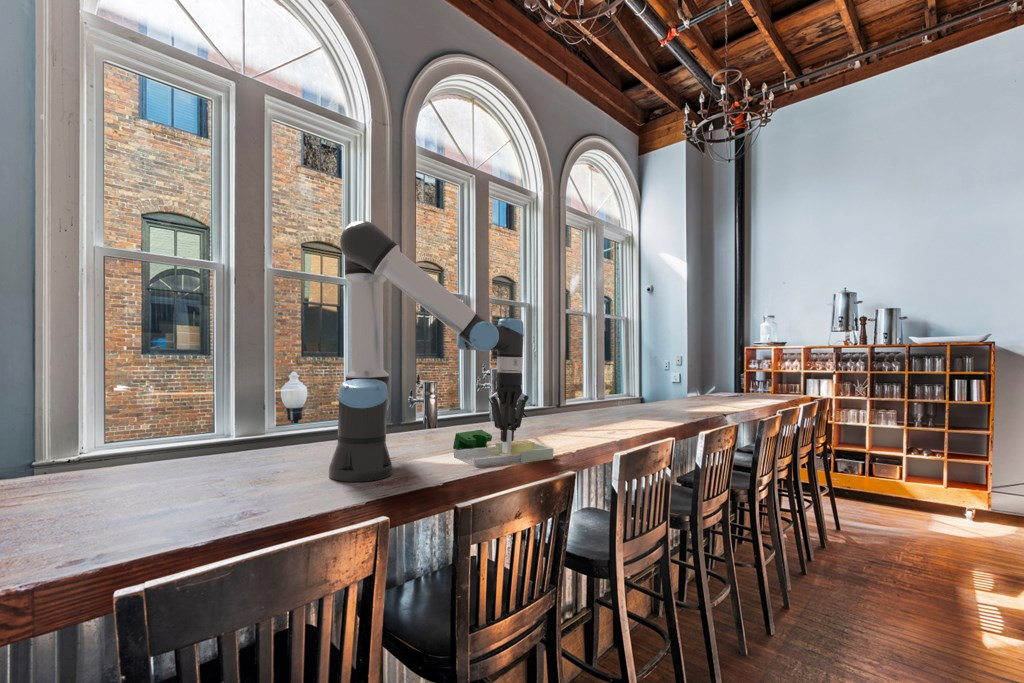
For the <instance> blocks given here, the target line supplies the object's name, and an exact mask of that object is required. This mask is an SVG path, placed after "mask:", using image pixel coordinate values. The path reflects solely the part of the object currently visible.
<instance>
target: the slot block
mask: <svg viewBox="0 0 1024 683" xmlns="http://www.w3.org/2000/svg"><path fill="white" fill-rule="evenodd" d="M453 458H454V459H457V460H458V461H461V462H463V463H465V464H468V465H470V466H471V467H474V468H482V467H490V466H491V467H492V466H498V465H507V464H518V463H521V462H520V455H519V454H514V455H505V456H503V455H500V454H498V447H497V446H496V445H495V446H486V447H483V448H473V449H459V450H456V449H454V450H453Z"/></svg>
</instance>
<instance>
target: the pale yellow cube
mask: <svg viewBox="0 0 1024 683" xmlns="http://www.w3.org/2000/svg"><path fill="white" fill-rule="evenodd" d="M523 440H524V441H520V440H516V441H517V442H520V443H523V451H526V450H534V449H535V443H536V442H535V441H531V440H527V439H523Z"/></svg>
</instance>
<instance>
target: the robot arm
mask: <svg viewBox="0 0 1024 683" xmlns="http://www.w3.org/2000/svg"><path fill="white" fill-rule="evenodd" d="M339 245H340V249H341V252H342V254H343V255H344V277H345V278H346V279H347V281H348V282H349V283H350V349H351V351H350V353H351V354H350V356H351V358H350V359H351V360H350V361H351V365H350V368H351V369H350V371H349V372H348V373H347V374H346V375H345V381H344V382H342V383H341V384H340V385H339V391H338V394H337V395H338V396H337V397H338V418H337V420H338V422H337V443H336V447H335V450H334V453H333V454H332V455H333V456H332V458H331V461H330V463H329V468H328V476H329V478H330V479H332V480H334V481H339V482H349V483H351V482H353V483H356V482H357V483H358V482H360V483H361V482H371V481H378V480H382V479H386V478H388V477H390V476H391V475H392V473H393V463H392V458H391V456H390V454H389V449H388V445H387V443H386V441H387V420H388V419H387V416H388V415H387V414H388V412H389V410H390V407H391V401H392V400H391V399H392V398H391V394H390V374H389V373H388V371H386V370H385V368H384V282H386V281H387V280H388V281H389V282H391V284H393V285H394V286H396V288H398V289H399V290H400V291H402V292H403V293H405V295H407V296H408V297H409V298H411V300H413V301H415V303H417V304H418V305H419V306H420V307H422V308H424V310H426V311H427V312H428V313H430V314H431V315H432V316H433V317H435V318H436V319H438V321H440V322H441V323H443V325H445V326H446V327H447V328H449V329H450V330H451V331H452V332H454V333H455V334H456V348H457V350H461V351H478V352H488V351H489V352H490V351H492V352H497V353H496V354H497V356H496V360H497V361H496V370H497V371H498V372H497V373H496V378H495V380H496V388H495V391H494V393H493V394H492V395H488V397H487V399H488V401H489V403H490V407H491V412H492V417H493V418H492V419H493V423H494V427H495V428H496V429H499V430H500V442H503V447H502V452H504V453H506V454H510V453H511V442H512V441H515V440H514V438H515V432H516V431H517V429H519V428H520V427H521V424H522V420H523V416H524V411H525V408H526V403H527V401H528V400H529V395H527V394H524V393H523V389H522V385H523V373H522V371H523V360H524V358H523V357H524V356H523V354H524V338H525V331H524V328H525V327H524V321H523V320H522V319H519V318H499V319H498V322H497V324H493V323H491V322H490V321H487V320H485V319H484V318H483V317H482V316H480V315H479V314H478V313H477V312H476V311H474V310H473V309H472V308H471V307H469V306H468V305H467V303H464V302H463V301H462V300H461V299H459V298H458V297H457V296H455V294H453V293H452V292H450V290H448V289H447V288H446V287H444V286H443V284H441V283H440V282H438V281H437V280H436V279H435V278H433V277H432V276H431V275H430V274H429V273H428V272H426V271H425V270H423V269H422V268H421V267H420V266H419V265H417V264H416V263H415V262H414V261H412V260H411V259H409V257H408V256H406V255H405V254H403V253H402V252H401V249H400V245H399V244H398V243H396V241H394V240H393V239H391V237H389V236H388V235H387V233H385V232H384V230H382V229H381V227H379V226H378V225H376V224H375V223H373V222H371V221H367V220H357V221H354V222H351V223H349V224H348V225H347V226H346V227H345V228H344V229H343V231H342V233H341V235H340V241H339Z"/></svg>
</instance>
